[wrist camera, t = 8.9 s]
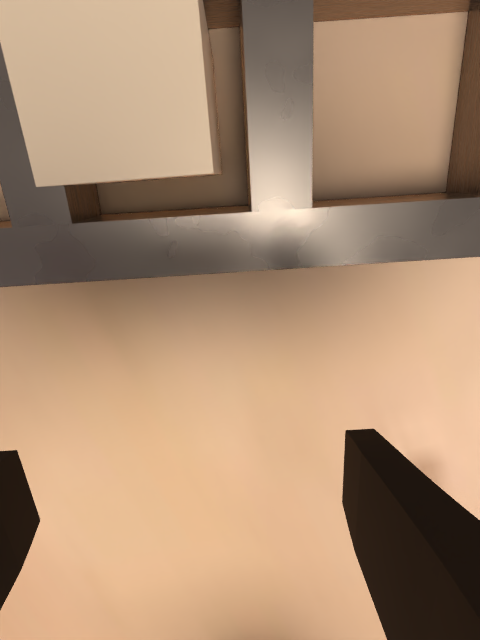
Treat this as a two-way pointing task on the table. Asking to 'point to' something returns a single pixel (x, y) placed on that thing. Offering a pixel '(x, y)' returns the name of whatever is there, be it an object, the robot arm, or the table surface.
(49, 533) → the table surface
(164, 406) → the table surface
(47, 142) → the peg
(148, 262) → the grey metal slotted frame
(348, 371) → the table surface
